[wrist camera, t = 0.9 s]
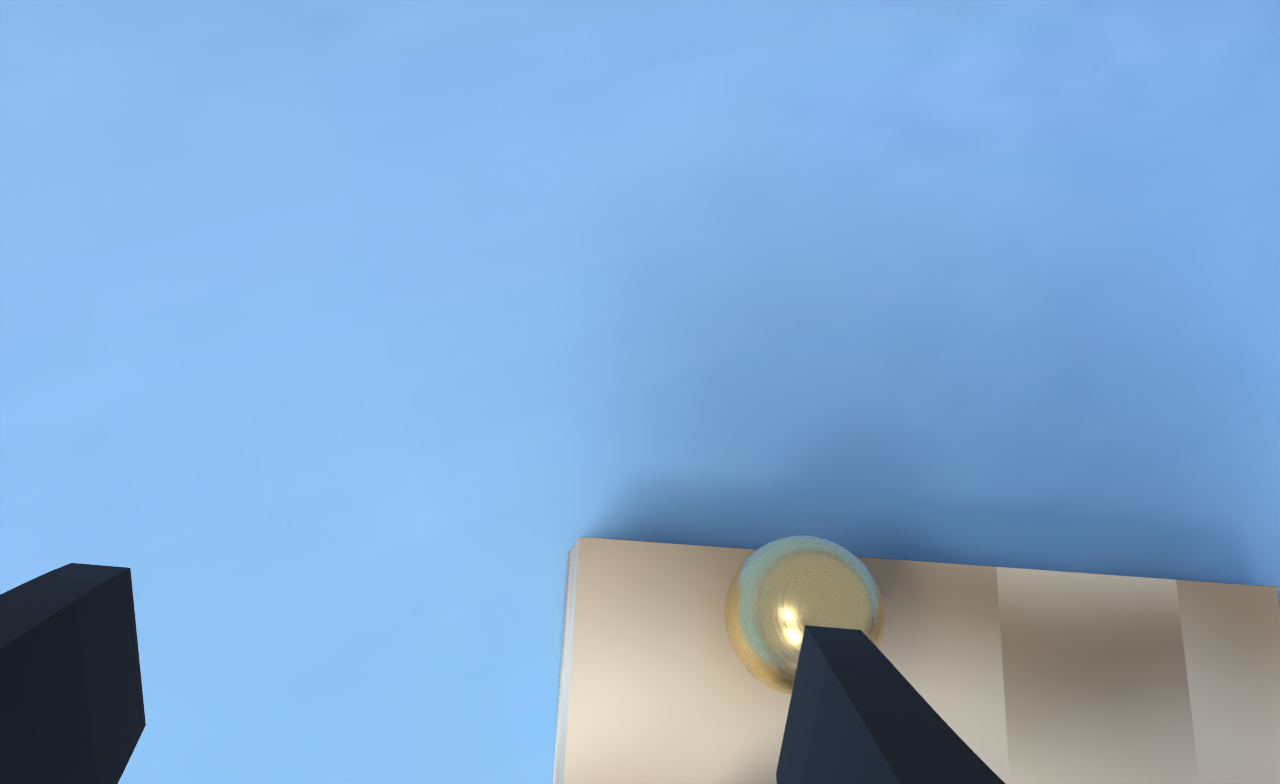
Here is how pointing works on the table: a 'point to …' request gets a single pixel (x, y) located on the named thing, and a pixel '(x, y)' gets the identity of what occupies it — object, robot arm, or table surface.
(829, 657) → the robot arm
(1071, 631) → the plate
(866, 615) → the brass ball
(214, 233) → the table surface
